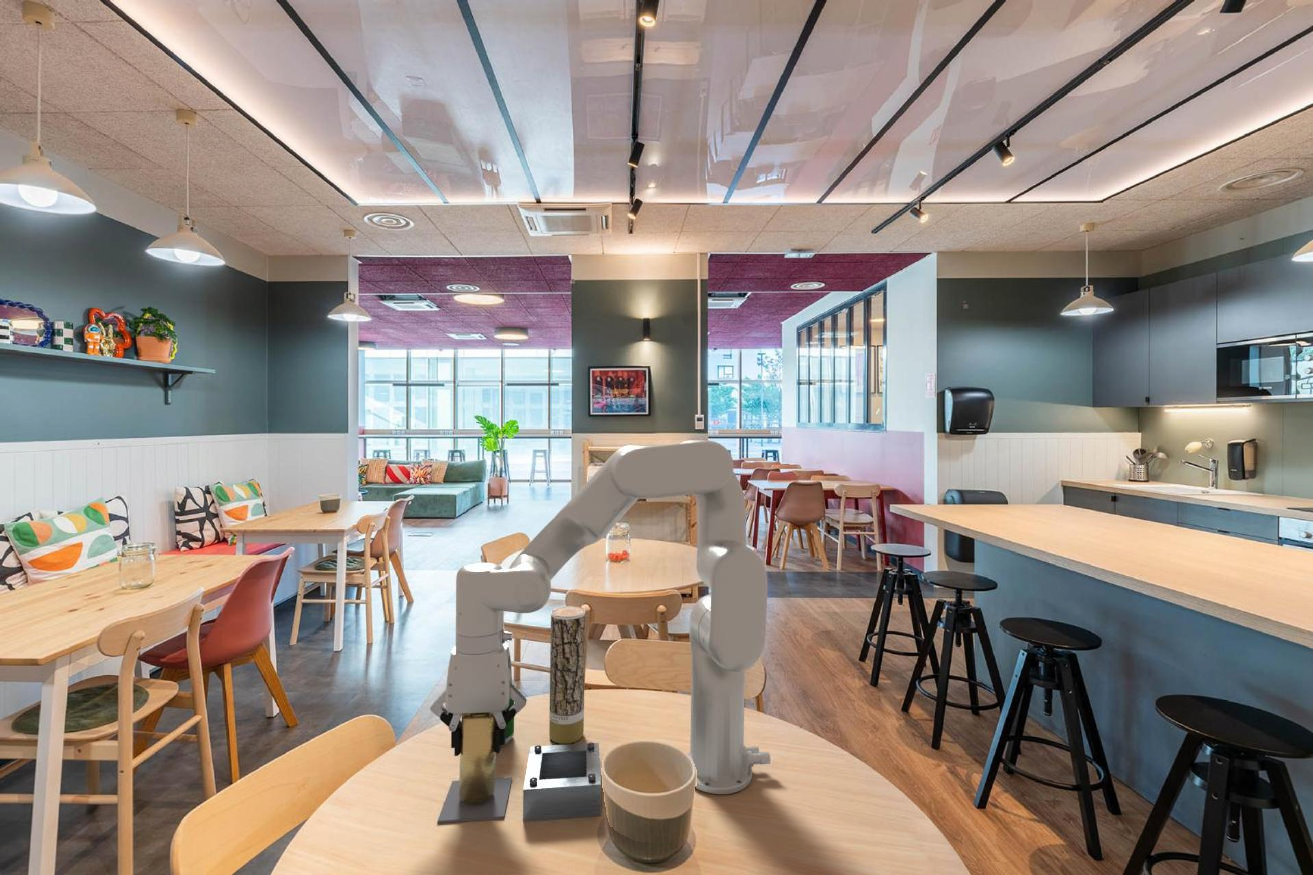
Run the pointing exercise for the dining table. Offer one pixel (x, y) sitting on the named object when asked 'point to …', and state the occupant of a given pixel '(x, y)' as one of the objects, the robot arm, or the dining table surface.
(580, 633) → the paper tube
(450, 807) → the rubber mat
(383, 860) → the dining table surface
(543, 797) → the housing
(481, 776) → the tan cylinder
